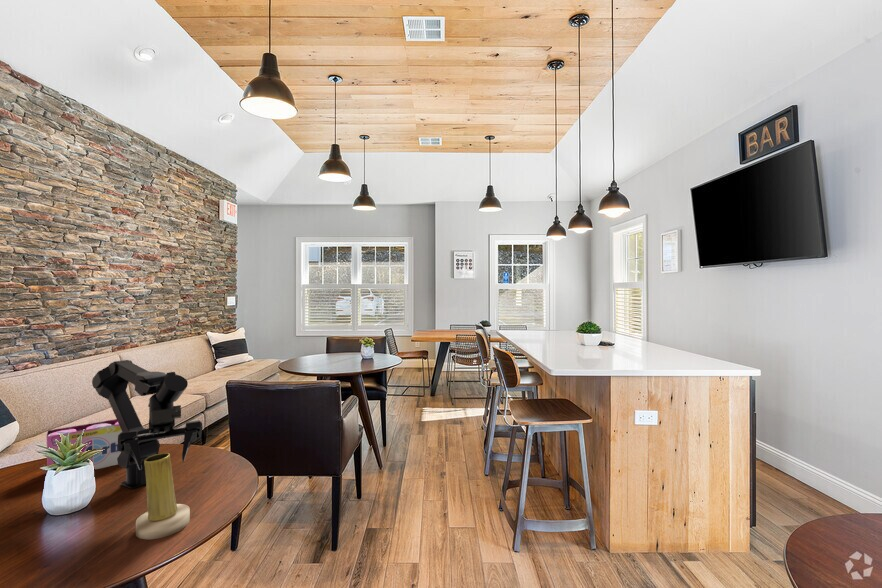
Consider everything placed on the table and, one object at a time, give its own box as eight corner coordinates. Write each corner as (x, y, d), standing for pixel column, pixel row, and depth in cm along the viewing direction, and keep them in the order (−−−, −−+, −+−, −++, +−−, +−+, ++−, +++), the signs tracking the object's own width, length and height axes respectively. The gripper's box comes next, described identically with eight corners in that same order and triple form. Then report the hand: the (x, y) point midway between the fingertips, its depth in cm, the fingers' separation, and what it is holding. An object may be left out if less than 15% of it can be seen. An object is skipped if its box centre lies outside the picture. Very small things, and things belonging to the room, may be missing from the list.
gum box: (139, 453, 148) (139, 415, 148) (142, 459, 143) (142, 420, 142) (47, 472, 132) (47, 430, 132) (46, 481, 126) (46, 436, 126)
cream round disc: (125, 533, 99) (125, 520, 99) (173, 511, 109) (173, 500, 109) (152, 546, 94) (152, 532, 94) (199, 522, 104) (199, 510, 104)
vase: (157, 508, 105) (152, 453, 104) (182, 506, 105) (177, 450, 104) (141, 523, 98) (135, 463, 98) (168, 520, 99) (162, 461, 98)
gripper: (118, 401, 107) (114, 458, 98) (201, 391, 117) (205, 442, 108) (120, 424, 113) (117, 479, 104) (199, 412, 124) (202, 462, 115)
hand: (162, 465), depth 108 cm, fingers open, 9 cm apart
